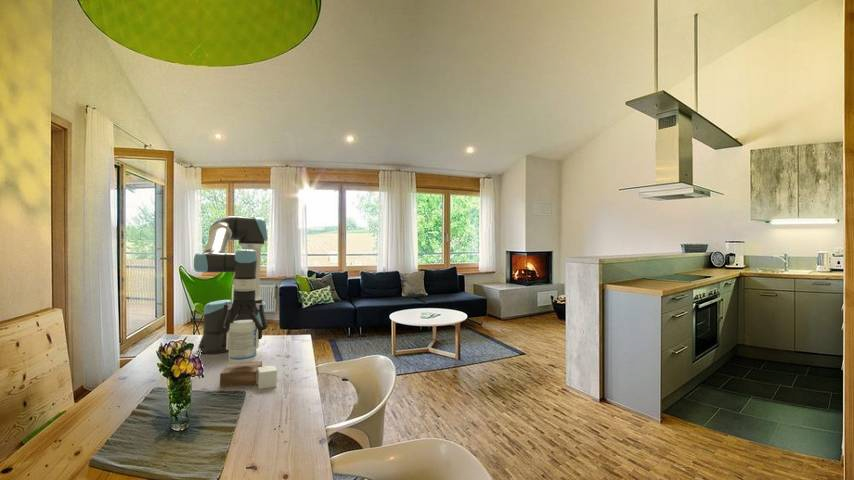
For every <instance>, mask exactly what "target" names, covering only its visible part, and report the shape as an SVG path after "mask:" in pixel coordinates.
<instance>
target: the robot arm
mask: <svg viewBox="0 0 854 480" xmlns="http://www.w3.org/2000/svg"><path fill="white" fill-rule="evenodd" d="M208 235H209V236H208V240H207V242H206V245H205V248H204V251H203V252H198V253H195V254H194V257H193V270H194V271H195V272H196V273H206V274H207V273H234V279H233V289H234V290H233V299H232V300H233V301H232V300H231V299H220V300H215V301H210V302H208V303H206V304H205V305H204V307H203V313H202V314H203V325H202V328H203V330H202V336H201V339H200V341H199V344H198V348H197V351H199V349H201V351H202V353H201V354H205V355H212V354H220V353H221V354H222V353H225V352H226V353H227V352H229V328H230V323H233V322H234V321H238V320H253V322H255V326H256V327H257V331H256V347H255V349H256V350H257V349H259V348H260V340H261V339H262V338H263V331H264V330H267V328H268V323H267V318H266V314H265V309H266V302H265V301H263V297H262V296H261V295H260V289H261V288H260V286H261V285H260V283H261V282H260V281H261V255H262V254H261V253H262V247H263V246H264V245H265V242H268V231H267V223H266V219H265V218H263V217H259V216H258V217H256V216H235V215H234V216H233V215H230V216H229V215H228V216H226V217H222V218H220V219H218V220H217V221H215V222H214V223H212V224H211V226H210V228H209V229H208ZM232 240H233V241H238V246H240V247H241V249H237V250H236V251H235V252H234V253H226V250H227V247H228V246H227V245H228V242H229V241H232Z"/></svg>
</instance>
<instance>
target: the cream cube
mask: <svg viewBox="0 0 854 480" xmlns="http://www.w3.org/2000/svg"><path fill="white" fill-rule="evenodd" d="M277 380H278V370H277V366H276V365H266V366H262V367H258V381H257V383H256V384H257V387H258V389H259V390H260V389H266V388H273V387H277V384H278V383H277Z"/></svg>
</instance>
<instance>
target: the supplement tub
mask: <svg viewBox="0 0 854 480" xmlns="http://www.w3.org/2000/svg"><path fill="white" fill-rule="evenodd" d="M257 330H258V329H257V327H256V326H255V322H253V320H238V321H234V322H233V323H230V328H229V351H228V362H229V363H236V364H240V363H247V362H254V361H255V360H256V358H257V349H255V347H256V331H257Z"/></svg>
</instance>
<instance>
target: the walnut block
mask: <svg viewBox="0 0 854 480" xmlns="http://www.w3.org/2000/svg"><path fill="white" fill-rule="evenodd" d="M258 367H263V361H251V362H247V363H240V364H236V363H231V362H228V364H227V365H226V366H225V367H224V368H223V369H222V371H221V372H220V374H219V388H229V387H246V386H247V387H248V386H256V385H257V384H258V383H257V382H258Z"/></svg>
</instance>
